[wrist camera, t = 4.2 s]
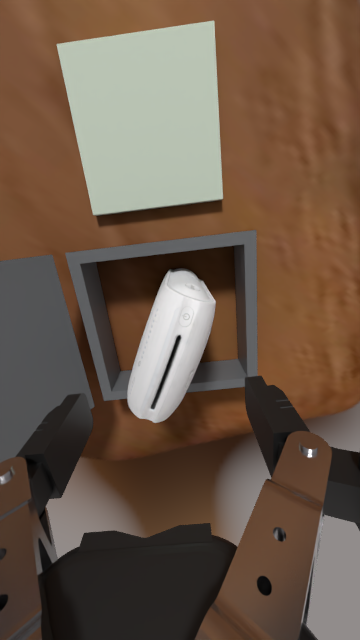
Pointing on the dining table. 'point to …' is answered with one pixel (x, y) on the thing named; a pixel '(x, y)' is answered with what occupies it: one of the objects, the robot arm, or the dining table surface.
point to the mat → (146, 117)
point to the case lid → (34, 350)
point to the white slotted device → (171, 345)
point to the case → (243, 242)
